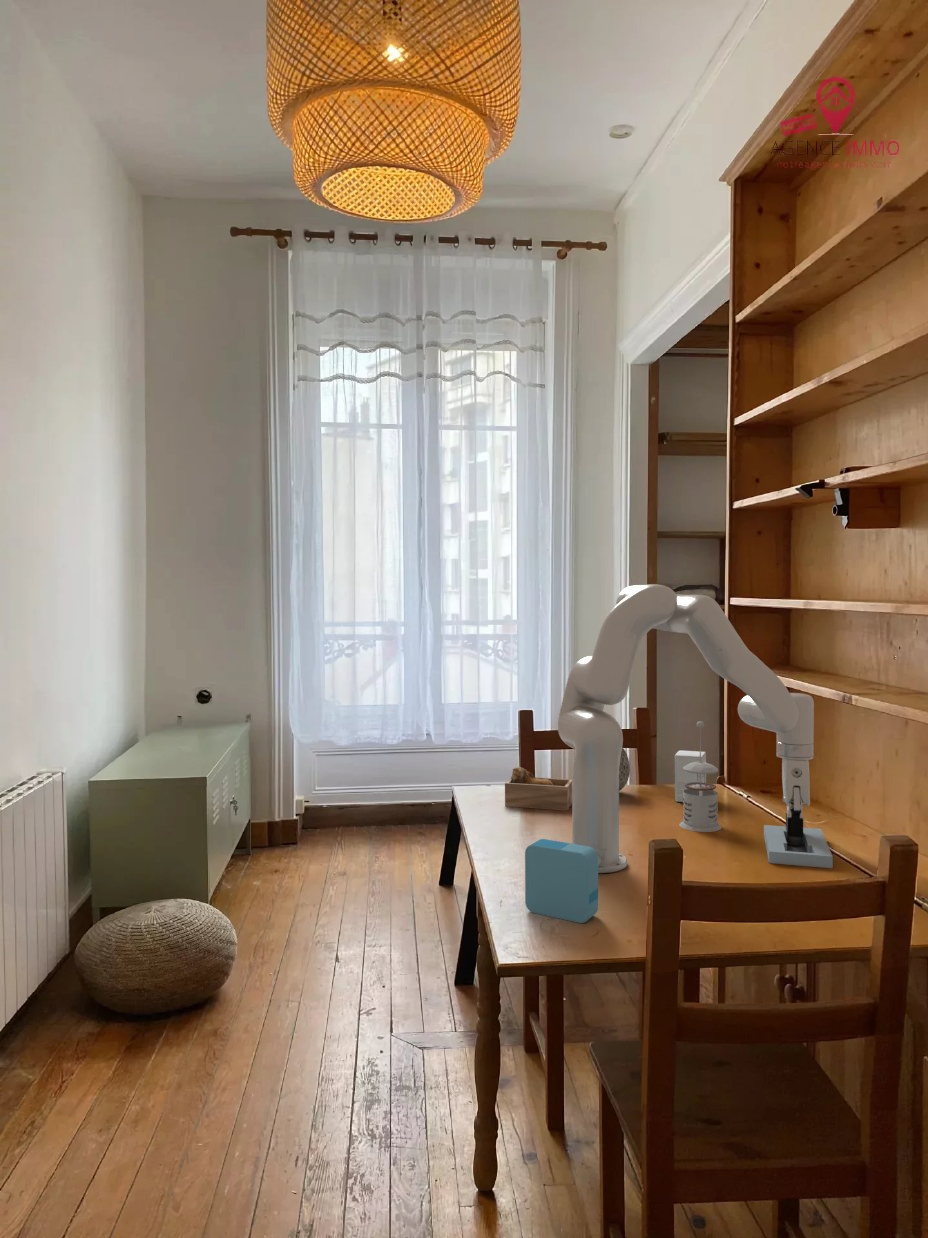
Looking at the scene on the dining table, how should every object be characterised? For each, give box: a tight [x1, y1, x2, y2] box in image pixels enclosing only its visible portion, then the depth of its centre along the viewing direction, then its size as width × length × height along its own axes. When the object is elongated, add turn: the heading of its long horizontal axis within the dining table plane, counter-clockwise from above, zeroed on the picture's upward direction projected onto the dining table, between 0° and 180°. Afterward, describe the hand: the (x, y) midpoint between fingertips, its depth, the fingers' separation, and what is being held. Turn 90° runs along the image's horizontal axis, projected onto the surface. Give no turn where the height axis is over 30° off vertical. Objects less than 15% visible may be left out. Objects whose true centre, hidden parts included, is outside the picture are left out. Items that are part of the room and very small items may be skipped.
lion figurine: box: [510, 766, 553, 786], centre depth 219 cm, size 15×5×9 cm, turn 62°
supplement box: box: [674, 749, 707, 803], centre depth 222 cm, size 7×7×13 cm
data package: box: [524, 838, 599, 924], centre depth 144 cm, size 12×4×12 cm, turn 58°
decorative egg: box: [619, 746, 631, 792], centre depth 229 cm, size 12×12×15 cm
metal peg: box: [782, 794, 806, 845], centre depth 181 cm, size 5×5×10 cm
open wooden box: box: [504, 776, 572, 811], centre depth 219 cm, size 9×16×6 cm, turn 73°
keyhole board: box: [763, 824, 834, 869], centre depth 178 cm, size 20×12×2 cm, turn 163°
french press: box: [678, 720, 723, 833], centre depth 198 cm, size 10×12×25 cm
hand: (794, 833), depth 181 cm, fingers closed on metal peg, 3 cm apart
